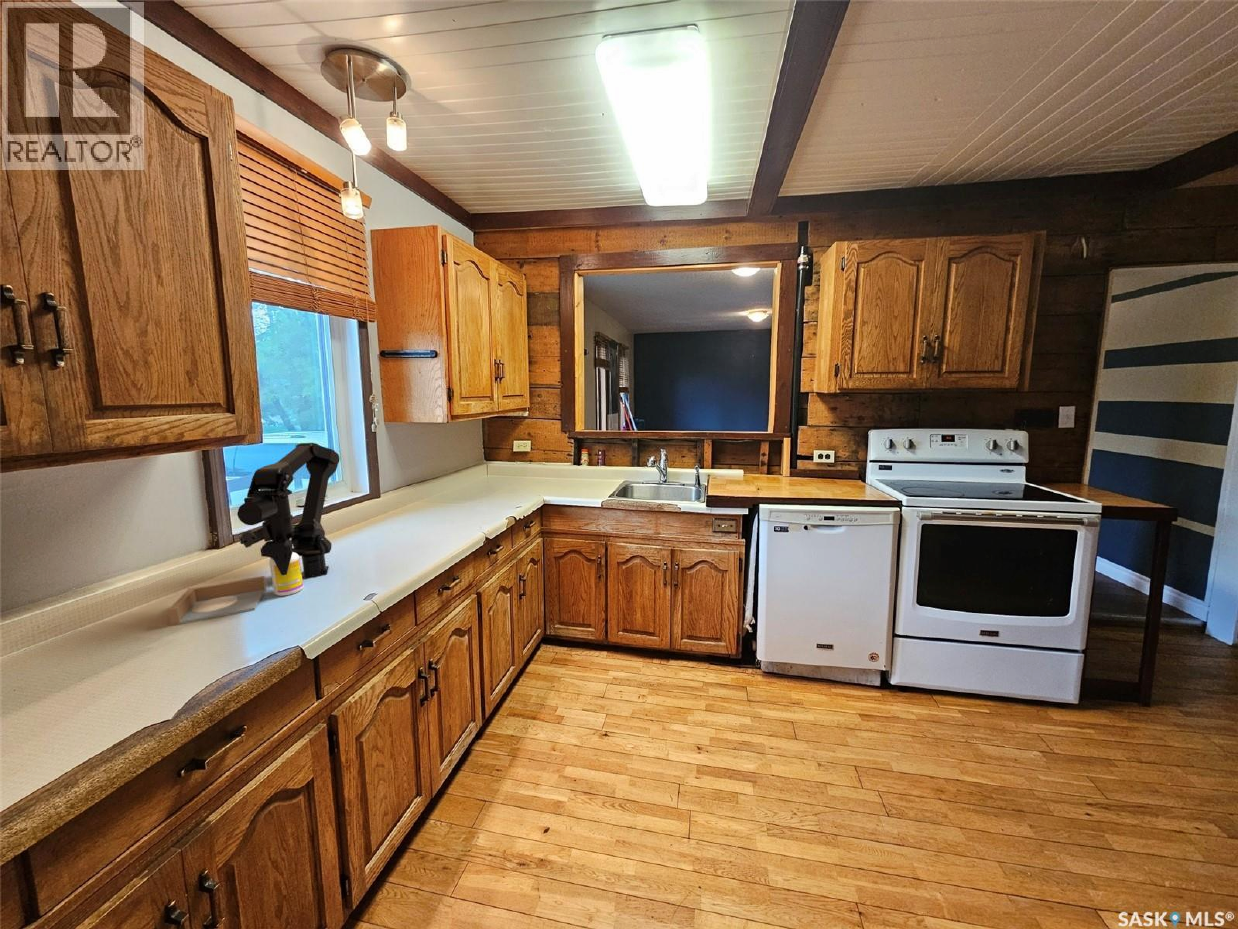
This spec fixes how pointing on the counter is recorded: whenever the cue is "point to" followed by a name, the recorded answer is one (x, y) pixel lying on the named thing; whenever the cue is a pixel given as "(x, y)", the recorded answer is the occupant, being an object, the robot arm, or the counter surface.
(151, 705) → the counter surface
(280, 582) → the supplement bottle
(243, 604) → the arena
